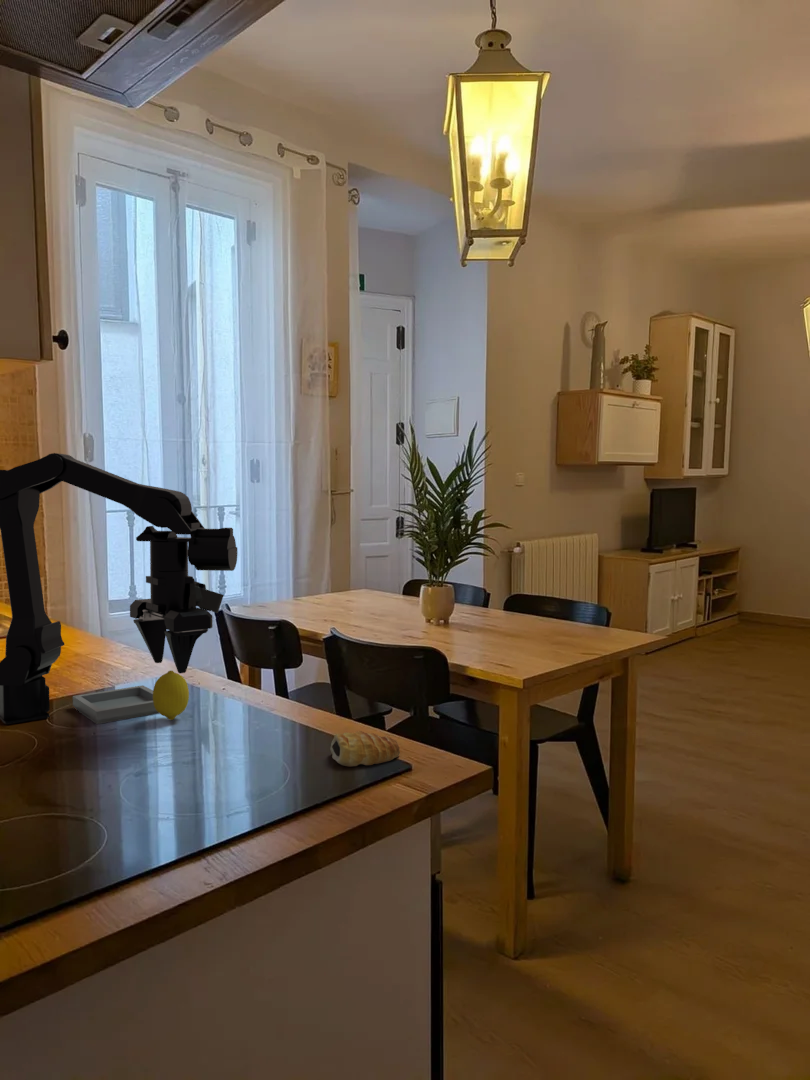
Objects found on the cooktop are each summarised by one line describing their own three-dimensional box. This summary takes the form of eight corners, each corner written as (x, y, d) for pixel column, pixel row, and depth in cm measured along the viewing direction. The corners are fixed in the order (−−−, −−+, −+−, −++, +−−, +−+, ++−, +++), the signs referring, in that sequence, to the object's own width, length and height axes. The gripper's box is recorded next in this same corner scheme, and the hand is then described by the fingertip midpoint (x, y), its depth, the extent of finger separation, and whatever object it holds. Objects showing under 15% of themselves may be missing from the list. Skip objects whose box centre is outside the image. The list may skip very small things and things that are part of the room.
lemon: (178, 726, 121) (178, 675, 120) (146, 723, 122) (145, 673, 122) (195, 716, 126) (194, 667, 126) (164, 714, 127) (163, 666, 127)
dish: (96, 724, 122) (96, 711, 121) (72, 707, 131) (72, 696, 131) (170, 711, 129) (170, 699, 129) (143, 696, 138) (142, 685, 138)
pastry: (390, 748, 112) (390, 721, 112) (407, 763, 106) (407, 735, 105) (326, 755, 108) (327, 728, 108) (340, 772, 102) (341, 743, 102)
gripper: (243, 572, 121) (243, 671, 122) (192, 563, 135) (192, 652, 136) (174, 576, 114) (175, 681, 115) (128, 566, 128) (129, 660, 129)
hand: (169, 667), depth 124 cm, fingers open, 9 cm apart
